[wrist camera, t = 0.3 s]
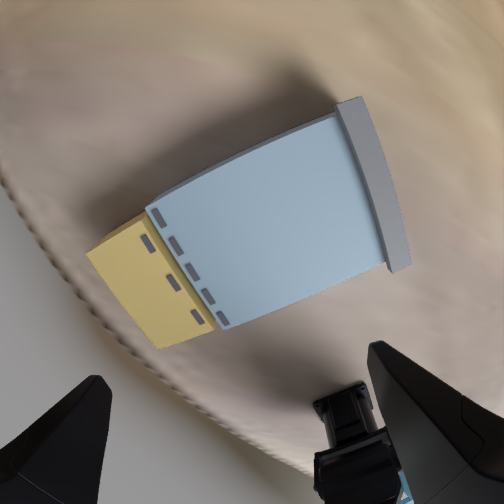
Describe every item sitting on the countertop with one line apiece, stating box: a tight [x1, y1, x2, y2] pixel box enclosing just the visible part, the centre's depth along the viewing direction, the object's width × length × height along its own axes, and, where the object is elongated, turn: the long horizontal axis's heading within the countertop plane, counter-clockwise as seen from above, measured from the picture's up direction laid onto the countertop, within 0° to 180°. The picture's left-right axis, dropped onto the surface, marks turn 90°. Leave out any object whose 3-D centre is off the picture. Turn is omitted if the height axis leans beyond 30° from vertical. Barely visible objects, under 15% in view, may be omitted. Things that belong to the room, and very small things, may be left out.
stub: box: [86, 211, 215, 350], centre depth 20 cm, size 9×5×4 cm, turn 26°
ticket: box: [145, 96, 412, 330], centre depth 18 cm, size 11×14×4 cm
